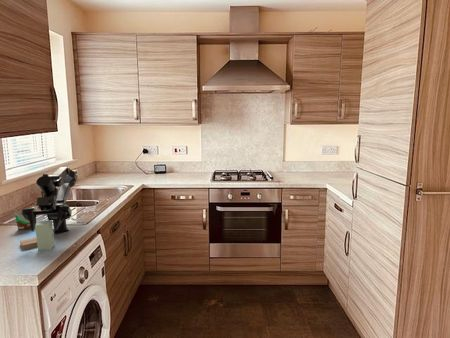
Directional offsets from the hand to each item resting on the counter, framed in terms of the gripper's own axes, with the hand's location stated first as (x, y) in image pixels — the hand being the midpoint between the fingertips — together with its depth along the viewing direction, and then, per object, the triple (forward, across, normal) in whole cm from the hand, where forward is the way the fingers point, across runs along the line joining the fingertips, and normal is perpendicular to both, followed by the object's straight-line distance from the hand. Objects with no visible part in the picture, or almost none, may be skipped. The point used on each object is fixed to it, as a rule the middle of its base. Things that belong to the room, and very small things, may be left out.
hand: (44, 230), depth 137 cm
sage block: (+5, 0, +6) cm, 8 cm away
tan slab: (+3, -8, +9) cm, 12 cm away
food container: (-16, -17, +28) cm, 36 cm away
